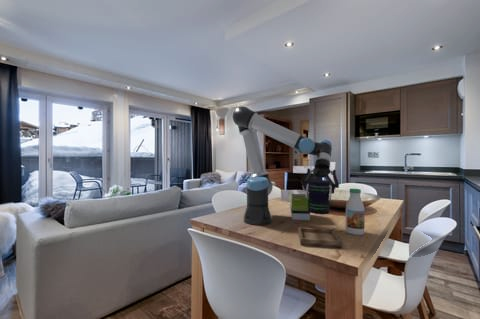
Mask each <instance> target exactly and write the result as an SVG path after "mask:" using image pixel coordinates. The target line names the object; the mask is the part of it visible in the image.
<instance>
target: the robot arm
mask: <svg viewBox="0 0 480 319" xmlns="http://www.w3.org/2000/svg"><path fill="white" fill-rule="evenodd" d="M232 121H233V123H234V124H235V125H236V126H237V127H238V132H239V134H240V135H241V136H242V138H243V142H244V147H245V153H246V156H247V160H248V165H249V169H250V173H251V174H250V176H249V178H248V179H247V180H246V207H245V212H244V215H243V222H244V223H246V224H249V225H253V226H255V225H256V226H257V225H258V226H259V225H260V226H261V225H262V226H263V225H269V224H271V223H272V217H273V216H272V214H271V211H270V207H269V195H270V194H271V193H272V191H273V188H274V187H273V183H272V181H271V178H270V173H269V172H268V171H266V168H265V164H264V159H263V155H262V154H263V153H262V150H261V146H260V142H259V137H258V134H257V133H258V132H260V133H261V134H263V135H265V136H268V137H269V138H272V139H273V140H276V141H279V142H280V143H283V144H285V145H287V146H289V147H292V148H293V149H294V151H295V152H297V153H300V154H306V155H311V156H315V161H314V167H313V169H311V168H309V167H308V168H307V171H306V173H305V175H304V177H303V178H302V180H301V185H302V186H303V190H304V191H306V193H305V196H306V198H307V197H308V193H309V192H308V189H309V188H308V185H309V180H317V179H318V178H322V179H324V180H326V181H330V186H329V187H330V189H329V190H330V192H329V201H331V200H332V195H333V194H335V189H339V187H340V184H339V180H338V177H337V170H336V169H333V170H332V169H331V168H330V167H331V158H332V152H333V148H332V143H331V141H330V140H328V139H322V140H320V141H318V142H317V141H314V140H313V139H312V138H310V137H306V136H304V135H301V134H299V133H297V132H295V131H293V130H290V129H288V128H287V127H284V126H282V125H280V124H277V123H275V122H273V121H271V120H268V118H267V119H266V118H264V117H262V116H261V115H259V114H258V113H257V111H254V110H252V109H250V108H249V107H248V106H244V105H243V106H239V107H238V106H237V107H236V108H235V109H234V111H233V113H232ZM330 174H331V175H332V178H333V179H331V176H329V175H330Z"/></svg>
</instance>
